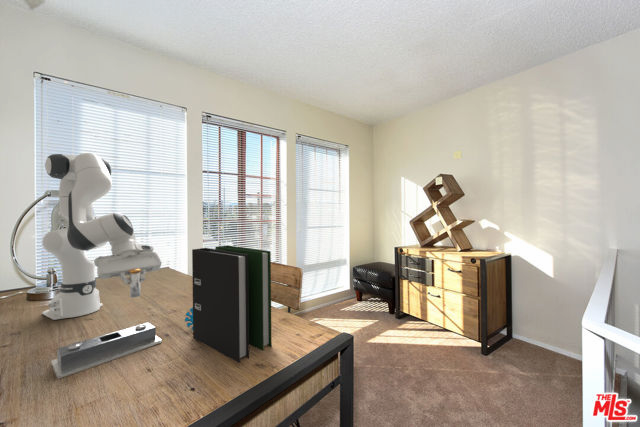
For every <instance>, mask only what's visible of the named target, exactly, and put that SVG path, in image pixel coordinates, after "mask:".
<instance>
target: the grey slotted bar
mask: <svg viewBox="0 0 640 427" xmlns="http://www.w3.org/2000/svg"><path fill="white" fill-rule="evenodd" d="M156 328H157V327H156V326H154V325H153V323H150V322H144V323H141V324H137V325H134V326H130V327H127V328H123V329H120V330H117V331H114V332H109V333H107V334H102V335H99V336H96V337H92V338H89V339H85V340H82V341H78V342H76V343H71V344H68V345H65V346H61V347H57V349H56V350H57V351H56V354H57V355H56V358H55V359H52V360H51V367H52V369H53V371H54V374H55V376H56V379H57V380H59V379H62V378H65V377H69V376H71V375H73V374H77V373H79V372H82V371H86V370H88V369H90V368H94V367H96V366H99V365H102V364H105V363H108V362H111V361H114V360H115V359H116V360H117V359H118V358H121V357H124V356H128V355H131V354H133V353H136V352H139V351H142V350H144V349H147V348H151V347H152V346H153V347H154V346H155V345H158V344H162V343H163V341H162V338H160V337H159V336H157V330H156Z"/></svg>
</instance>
